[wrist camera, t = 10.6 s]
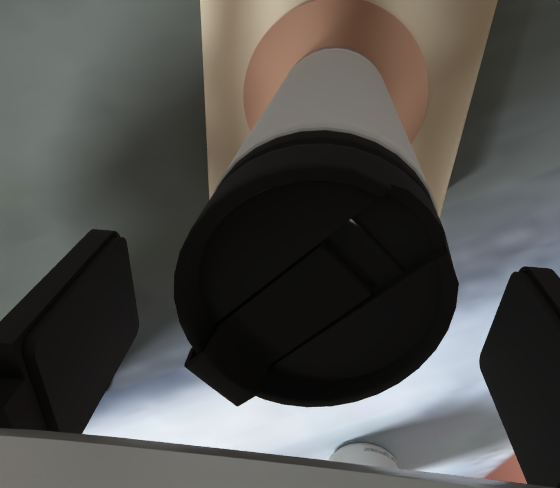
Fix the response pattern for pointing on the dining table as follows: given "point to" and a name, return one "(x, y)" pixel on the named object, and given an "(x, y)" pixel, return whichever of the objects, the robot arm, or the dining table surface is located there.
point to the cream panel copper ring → (358, 36)
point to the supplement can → (364, 455)
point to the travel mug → (317, 249)
